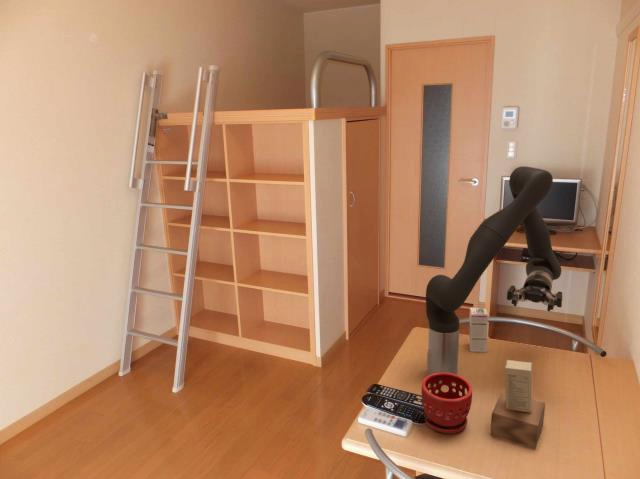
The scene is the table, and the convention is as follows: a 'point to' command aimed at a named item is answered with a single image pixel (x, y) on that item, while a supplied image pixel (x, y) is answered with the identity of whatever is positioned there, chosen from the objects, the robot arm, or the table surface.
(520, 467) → the table surface
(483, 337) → the syrup box
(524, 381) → the skincare box
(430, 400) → the plant pot
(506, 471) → the table surface
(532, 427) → the walnut block
